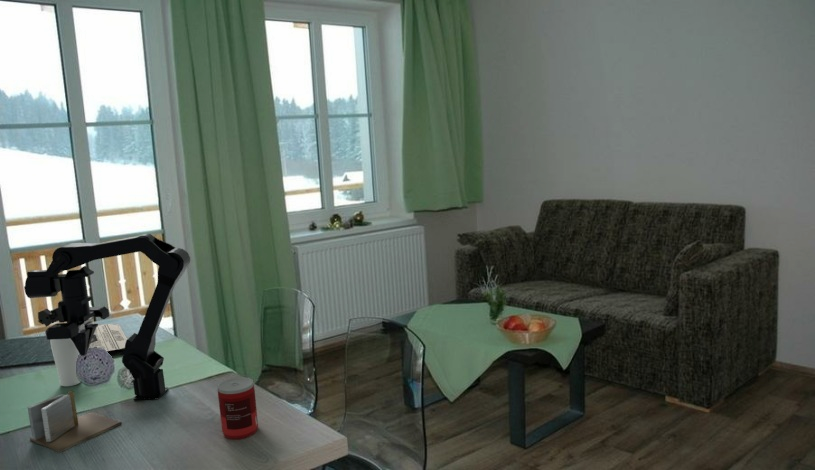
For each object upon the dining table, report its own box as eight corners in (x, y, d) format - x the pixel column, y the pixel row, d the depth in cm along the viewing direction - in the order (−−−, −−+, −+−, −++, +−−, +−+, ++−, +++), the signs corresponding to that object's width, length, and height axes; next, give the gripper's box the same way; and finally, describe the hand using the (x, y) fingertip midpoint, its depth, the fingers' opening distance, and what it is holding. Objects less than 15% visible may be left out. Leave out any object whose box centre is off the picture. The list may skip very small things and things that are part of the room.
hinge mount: (91, 414, 155) (86, 380, 153) (121, 424, 148) (116, 388, 147) (30, 440, 143) (24, 403, 141) (59, 452, 136) (53, 414, 135)
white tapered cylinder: (73, 388, 172) (65, 334, 169) (51, 388, 173) (43, 334, 171) (90, 379, 178) (82, 327, 176) (69, 378, 180) (61, 326, 177)
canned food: (243, 420, 147) (238, 374, 145) (266, 429, 141) (261, 381, 140) (214, 433, 141) (209, 386, 139) (237, 443, 136) (231, 394, 134)
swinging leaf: (70, 425, 147) (65, 394, 146) (74, 425, 147) (69, 394, 146) (46, 441, 140) (41, 409, 138) (51, 441, 139) (45, 409, 138)
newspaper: (79, 335, 222) (78, 325, 222) (118, 327, 229) (117, 318, 228) (95, 363, 193) (93, 351, 193) (138, 353, 200) (137, 342, 199)
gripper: (64, 287, 169) (73, 344, 171) (19, 306, 150) (29, 370, 153) (106, 285, 168) (114, 342, 170) (65, 304, 150) (74, 368, 152)
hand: (83, 355), depth 161 cm, fingers closed
